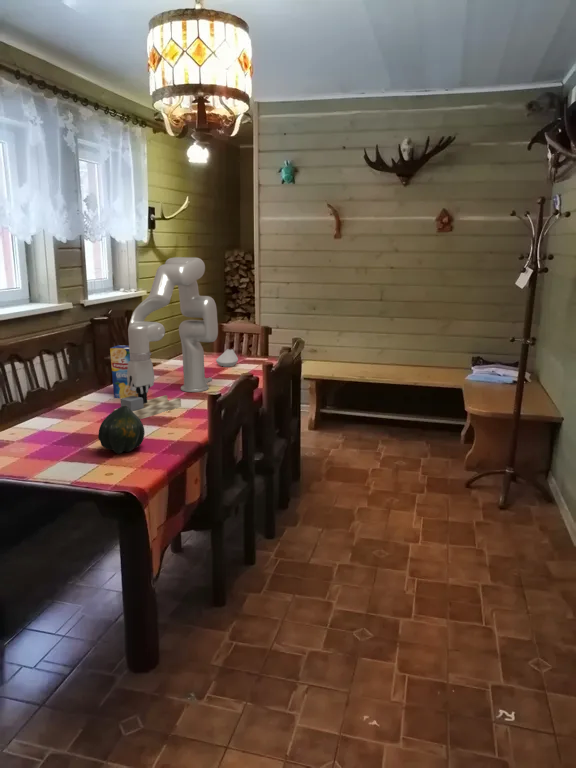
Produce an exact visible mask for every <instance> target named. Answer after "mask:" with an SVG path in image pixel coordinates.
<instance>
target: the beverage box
mask: <svg viewBox="0 0 576 768" xmlns="http://www.w3.org/2000/svg"><path fill="white" fill-rule="evenodd" d="M109 351H110V352H109V353H110V364H111V376H112V387H113V398H114V399H122V398H126V397H130V396H137V397H138V393H137V392H136V391H132V390H130V386H128V382H127V369H128V362H129V361H130V351H129V345H124V344H123V345H120V344H118V345H115V346H112V347H109Z"/></svg>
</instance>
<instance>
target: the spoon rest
mask: <svg viewBox="0 0 576 768" xmlns="http://www.w3.org/2000/svg"><path fill="white" fill-rule="evenodd" d="M215 361H216V363H217V365H219V366H221V367H222V366H223V368H230V367H231V366H232V367H234V366H235V365H237V363H238V361H239V358H238V356H237V354H236V353H235V349H229V348H226V350H224V352H223V353H222V354H220V355H219V356H218V357H217V358H216V359H215ZM232 367H231V368H232Z"/></svg>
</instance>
